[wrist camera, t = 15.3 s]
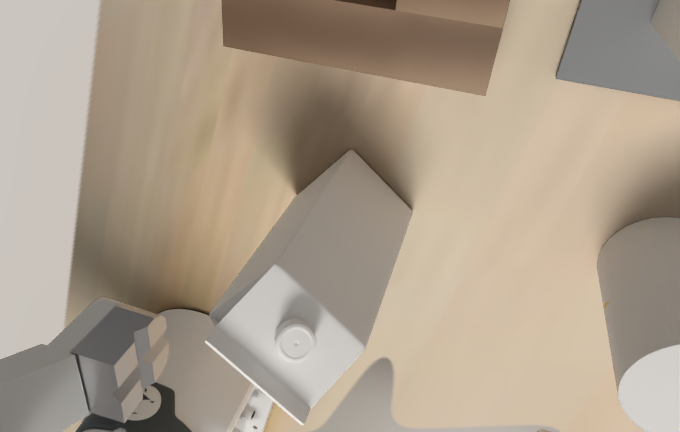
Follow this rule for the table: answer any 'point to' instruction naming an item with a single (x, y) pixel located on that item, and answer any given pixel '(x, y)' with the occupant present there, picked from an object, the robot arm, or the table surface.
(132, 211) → the table surface
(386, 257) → the milk carton
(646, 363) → the cup
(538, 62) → the table surface
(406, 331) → the table surface
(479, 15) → the block
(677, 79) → the mat
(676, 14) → the plug
